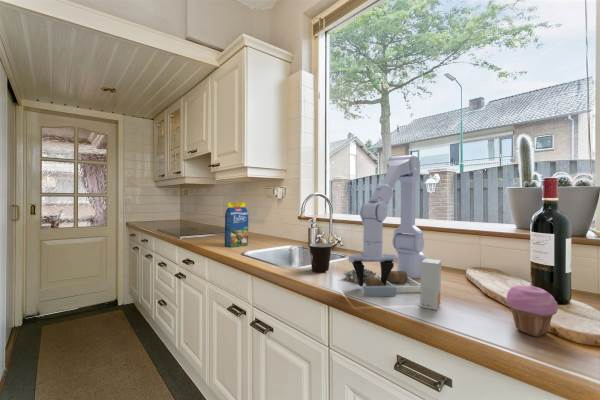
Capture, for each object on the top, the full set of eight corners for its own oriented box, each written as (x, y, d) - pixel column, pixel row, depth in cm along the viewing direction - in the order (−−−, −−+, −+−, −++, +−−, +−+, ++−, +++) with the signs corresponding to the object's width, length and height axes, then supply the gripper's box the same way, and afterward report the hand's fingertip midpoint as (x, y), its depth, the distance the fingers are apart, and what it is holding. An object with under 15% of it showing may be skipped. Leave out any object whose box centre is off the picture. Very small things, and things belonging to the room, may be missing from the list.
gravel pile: (358, 286, 98) (358, 274, 98) (341, 281, 104) (341, 269, 103) (378, 281, 105) (378, 269, 105) (361, 276, 110) (361, 265, 110)
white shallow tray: (404, 281, 103) (404, 275, 103) (425, 293, 90) (425, 286, 90) (377, 282, 102) (377, 275, 102) (394, 294, 89) (394, 287, 89)
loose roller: (371, 290, 96) (362, 282, 96) (379, 281, 96) (370, 272, 96) (378, 296, 90) (368, 287, 90) (387, 286, 90) (378, 277, 90)
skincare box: (437, 310, 77) (438, 263, 77) (419, 307, 79) (420, 261, 79) (440, 303, 82) (441, 259, 82) (424, 300, 84) (424, 258, 84)
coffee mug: (330, 274, 112) (330, 247, 112) (307, 272, 114) (307, 246, 113) (333, 267, 123) (333, 242, 123) (312, 266, 125) (312, 242, 125)
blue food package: (224, 246, 172) (224, 202, 172) (241, 244, 181) (242, 202, 181) (230, 247, 168) (231, 202, 168) (248, 245, 177) (248, 202, 176)
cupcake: (542, 345, 59) (543, 294, 59) (497, 327, 67) (497, 282, 67) (565, 336, 63) (566, 289, 63) (520, 321, 71) (521, 278, 71)
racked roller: (401, 278, 102) (403, 268, 101) (406, 285, 98) (408, 275, 97) (384, 279, 101) (385, 268, 100) (388, 286, 98) (390, 275, 96)
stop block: (393, 295, 88) (393, 285, 88) (396, 297, 86) (396, 287, 86) (363, 296, 87) (364, 286, 87) (365, 298, 85) (365, 287, 85)
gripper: (353, 243, 88) (353, 289, 88) (401, 243, 90) (400, 288, 90) (347, 239, 95) (346, 282, 95) (391, 239, 97) (390, 281, 97)
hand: (372, 285), depth 93 cm, fingers open, 7 cm apart
